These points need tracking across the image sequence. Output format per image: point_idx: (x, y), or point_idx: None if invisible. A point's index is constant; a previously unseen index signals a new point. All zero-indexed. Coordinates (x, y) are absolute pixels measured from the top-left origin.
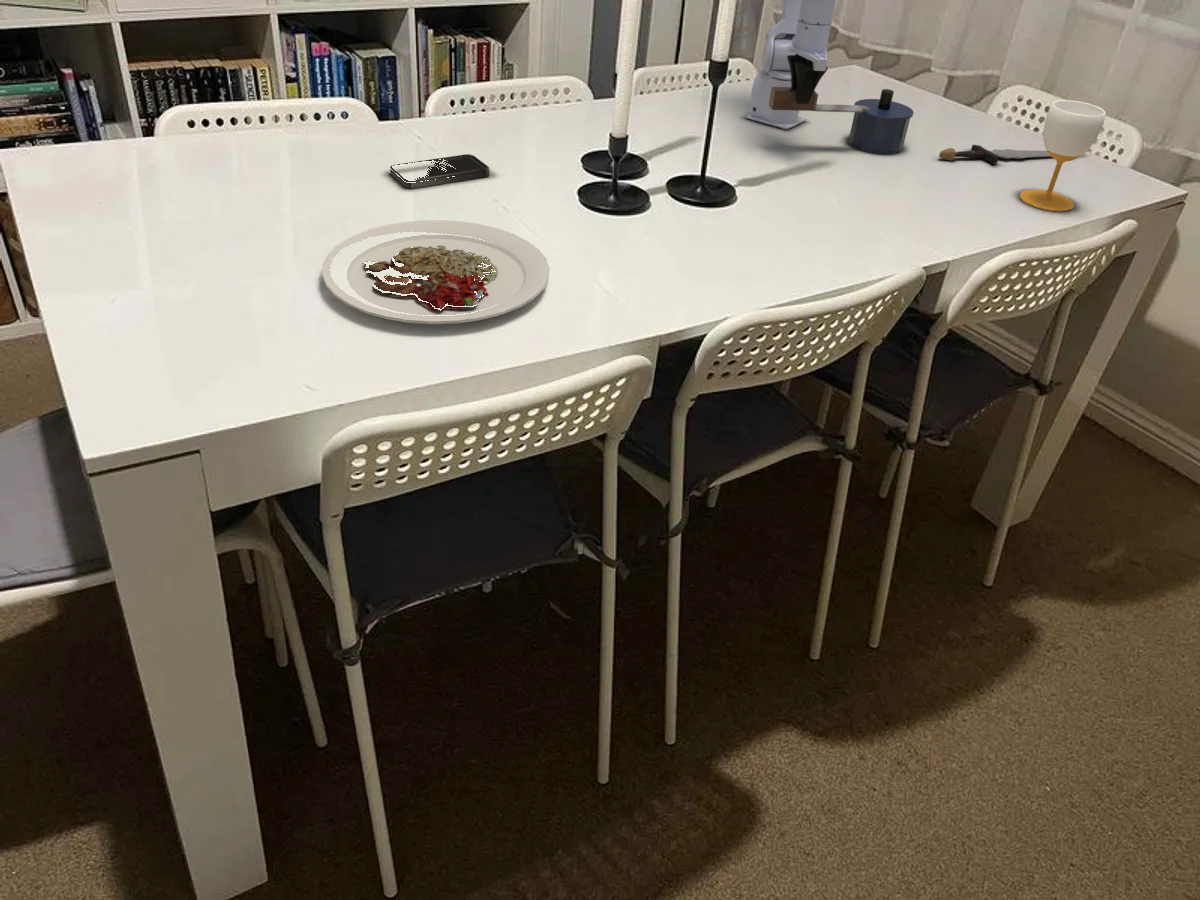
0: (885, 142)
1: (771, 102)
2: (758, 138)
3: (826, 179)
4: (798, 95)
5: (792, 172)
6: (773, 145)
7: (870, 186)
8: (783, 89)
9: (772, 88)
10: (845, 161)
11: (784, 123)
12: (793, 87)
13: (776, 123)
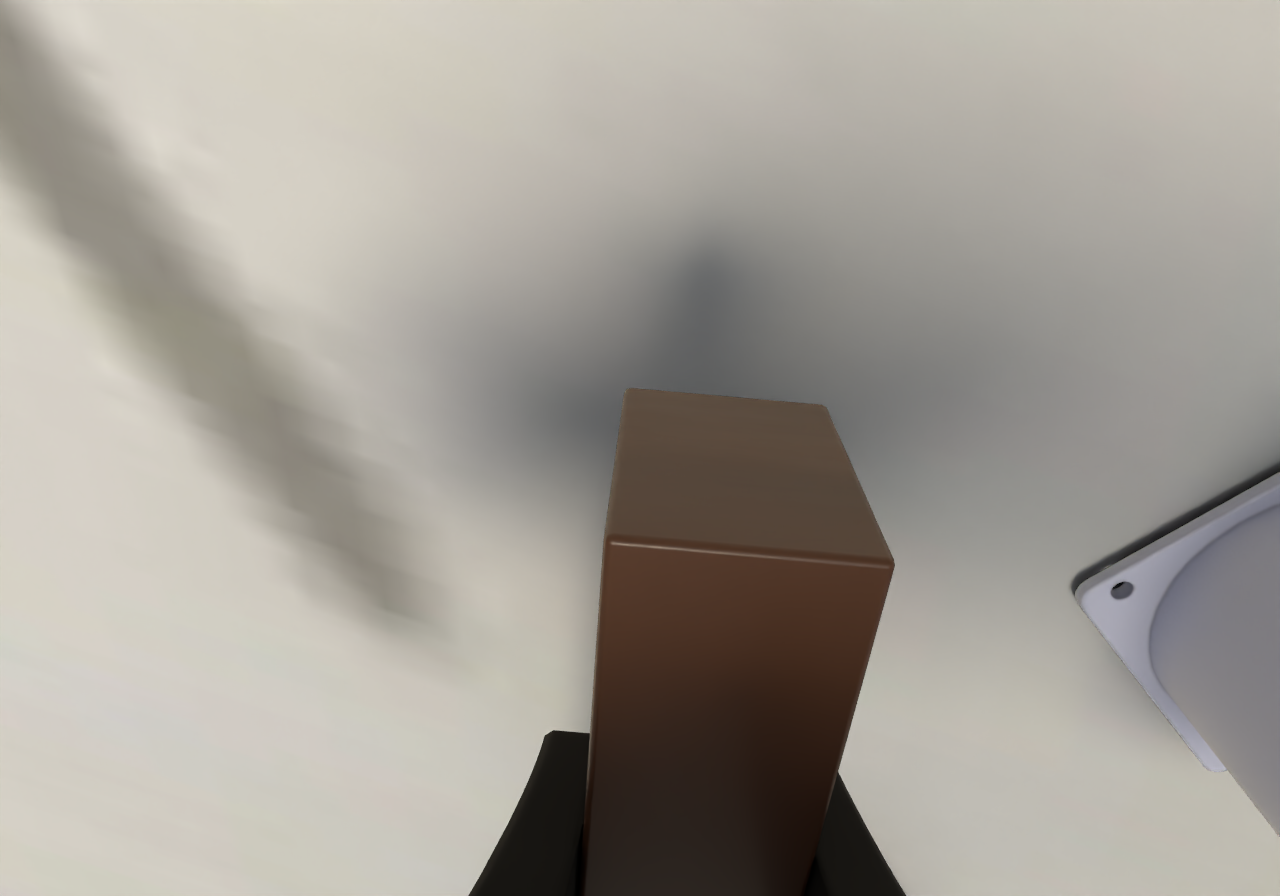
0: None
1: (711, 426)
2: (953, 298)
3: (77, 499)
4: (514, 816)
5: (156, 304)
6: (766, 369)
7: (36, 698)
8: (694, 705)
9: (816, 547)
10: (441, 720)
11: (1161, 608)
12: (797, 872)
13: (1197, 555)
